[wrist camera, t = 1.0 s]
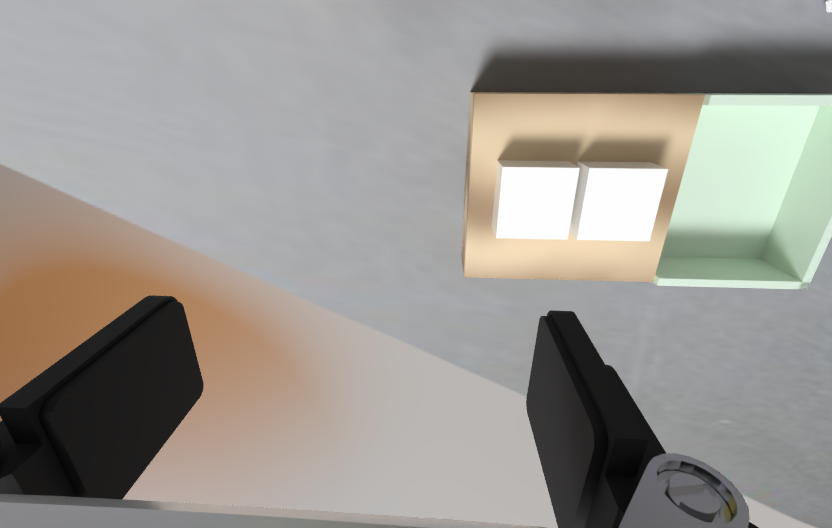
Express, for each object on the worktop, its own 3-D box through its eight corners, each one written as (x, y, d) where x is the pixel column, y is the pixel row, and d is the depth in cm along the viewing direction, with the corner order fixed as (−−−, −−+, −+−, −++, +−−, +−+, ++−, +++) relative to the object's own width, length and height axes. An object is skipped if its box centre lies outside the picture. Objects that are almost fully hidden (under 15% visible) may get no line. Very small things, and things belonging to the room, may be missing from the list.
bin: (670, 92, 24) (711, 94, 21) (826, 93, 24) (896, 95, 20) (629, 259, 29) (657, 285, 25) (759, 262, 28) (807, 289, 25)
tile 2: (577, 161, 23) (589, 168, 21) (649, 162, 23) (668, 168, 21) (566, 228, 24) (576, 239, 23) (633, 229, 24) (649, 241, 22)
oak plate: (470, 92, 25) (474, 93, 22) (670, 92, 24) (705, 94, 21) (461, 256, 29) (464, 277, 26) (629, 259, 29) (653, 282, 26)
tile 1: (497, 160, 23) (502, 166, 21) (568, 161, 23) (579, 168, 21) (491, 226, 25) (496, 238, 23) (558, 227, 24) (567, 239, 23)
